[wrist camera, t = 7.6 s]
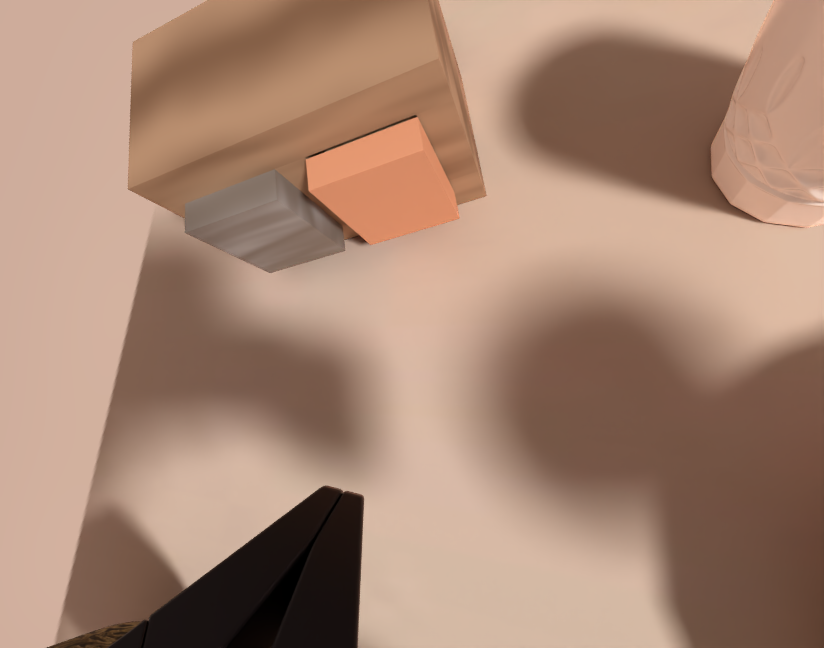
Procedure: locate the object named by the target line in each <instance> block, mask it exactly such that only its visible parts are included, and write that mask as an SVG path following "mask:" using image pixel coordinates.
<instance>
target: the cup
mask: <svg viewBox="0 0 824 648" xmlns="http://www.w3.org/2000/svg"><path fill="white" fill-rule="evenodd" d="M139 623H141V622H127V623H122V624H117V625H113V626H109V627H106V628H102V629H99V630H96V631H93V632H90V633H87V634H84V635H81V636H78V637H76V638H73V639H70V640H67V641H64V642H61V643H58V644H56V645H53V646H50V647H47V648H107V647H108V646H110V645H111V644H113V643H114V642H115V641H117V640H118V639H119V638H121V637H122V636H123V635H125V634H126V633H127V632H129V631H130V630H131V629H133V628H134V627H135V626H137V625H138V624H139Z"/></svg>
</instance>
